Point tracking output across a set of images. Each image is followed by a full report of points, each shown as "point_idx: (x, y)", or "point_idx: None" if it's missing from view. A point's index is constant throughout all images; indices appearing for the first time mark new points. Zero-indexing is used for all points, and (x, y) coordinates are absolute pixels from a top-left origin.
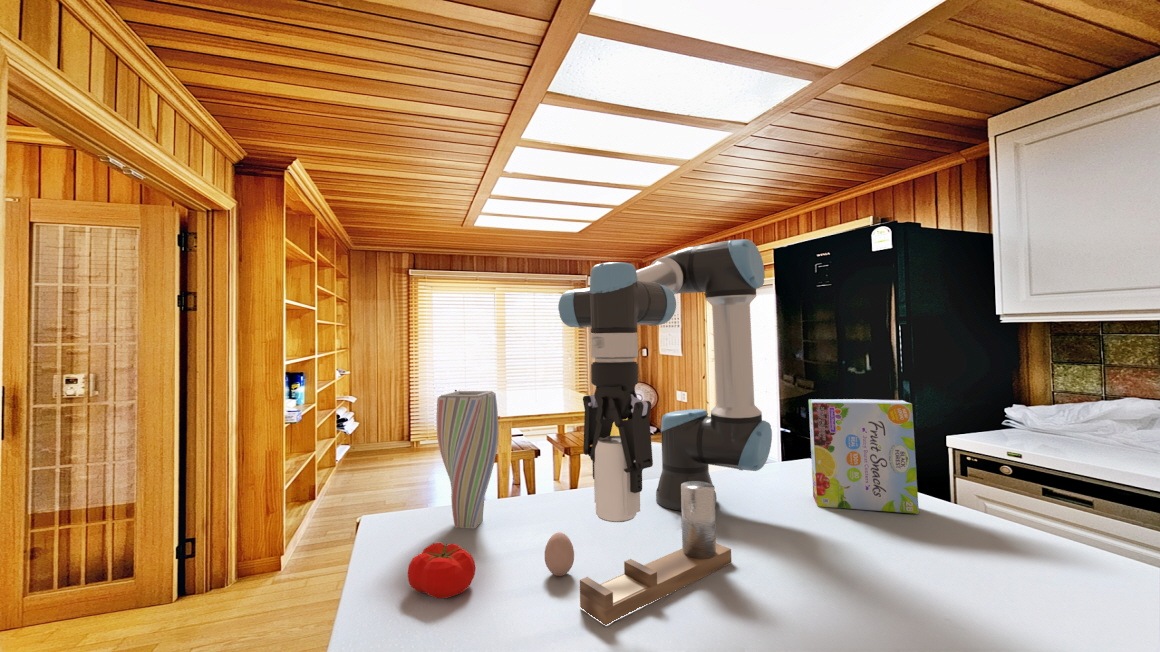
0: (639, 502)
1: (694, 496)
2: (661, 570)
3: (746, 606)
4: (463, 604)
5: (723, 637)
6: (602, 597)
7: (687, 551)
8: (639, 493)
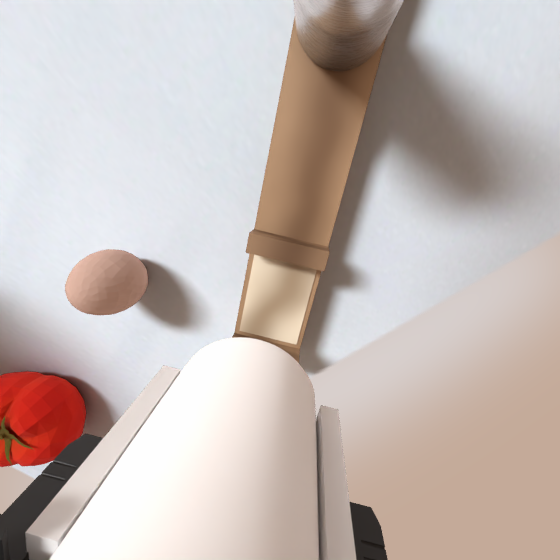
0: (340, 438)
1: None
2: (307, 187)
3: (486, 152)
4: (107, 407)
5: (466, 273)
6: None
7: (327, 65)
8: (344, 469)
